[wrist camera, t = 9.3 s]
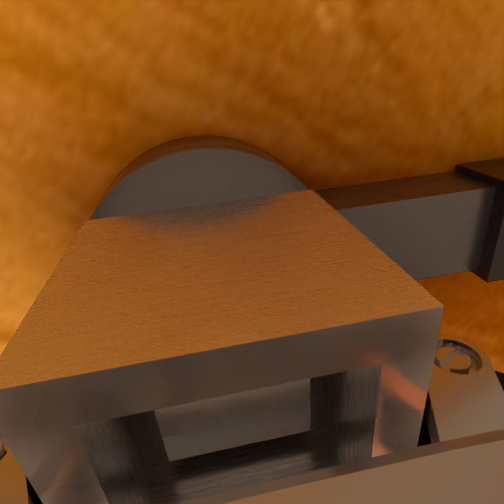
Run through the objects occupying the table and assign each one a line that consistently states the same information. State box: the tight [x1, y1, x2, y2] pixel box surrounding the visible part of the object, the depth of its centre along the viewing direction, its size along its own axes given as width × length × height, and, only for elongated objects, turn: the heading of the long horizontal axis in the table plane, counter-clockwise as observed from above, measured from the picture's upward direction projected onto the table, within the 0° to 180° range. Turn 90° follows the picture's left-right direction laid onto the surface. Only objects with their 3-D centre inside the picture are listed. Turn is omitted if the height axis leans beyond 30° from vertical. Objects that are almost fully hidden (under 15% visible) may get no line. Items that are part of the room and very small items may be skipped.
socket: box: [0, 190, 444, 504], centre depth 9 cm, size 6×6×6 cm
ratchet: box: [90, 136, 504, 461], centre depth 13 cm, size 26×9×8 cm, turn 95°
